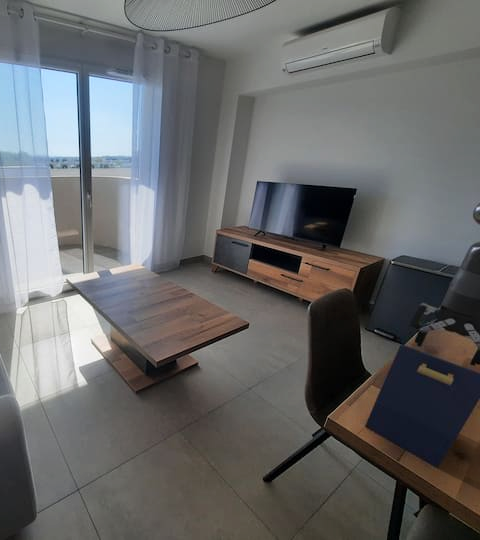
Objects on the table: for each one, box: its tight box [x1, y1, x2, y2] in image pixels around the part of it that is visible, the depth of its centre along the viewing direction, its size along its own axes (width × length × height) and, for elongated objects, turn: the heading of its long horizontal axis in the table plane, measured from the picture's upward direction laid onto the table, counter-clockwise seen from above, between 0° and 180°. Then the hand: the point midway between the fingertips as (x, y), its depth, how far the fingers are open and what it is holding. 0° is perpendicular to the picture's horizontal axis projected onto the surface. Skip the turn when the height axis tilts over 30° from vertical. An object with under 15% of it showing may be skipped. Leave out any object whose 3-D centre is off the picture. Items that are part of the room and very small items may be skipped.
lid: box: [375, 343, 480, 442], centre depth 64 cm, size 16×14×5 cm
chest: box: [364, 400, 455, 469], centre depth 74 cm, size 16×14×9 cm
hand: (444, 353), depth 67 cm, fingers open, 8 cm apart
